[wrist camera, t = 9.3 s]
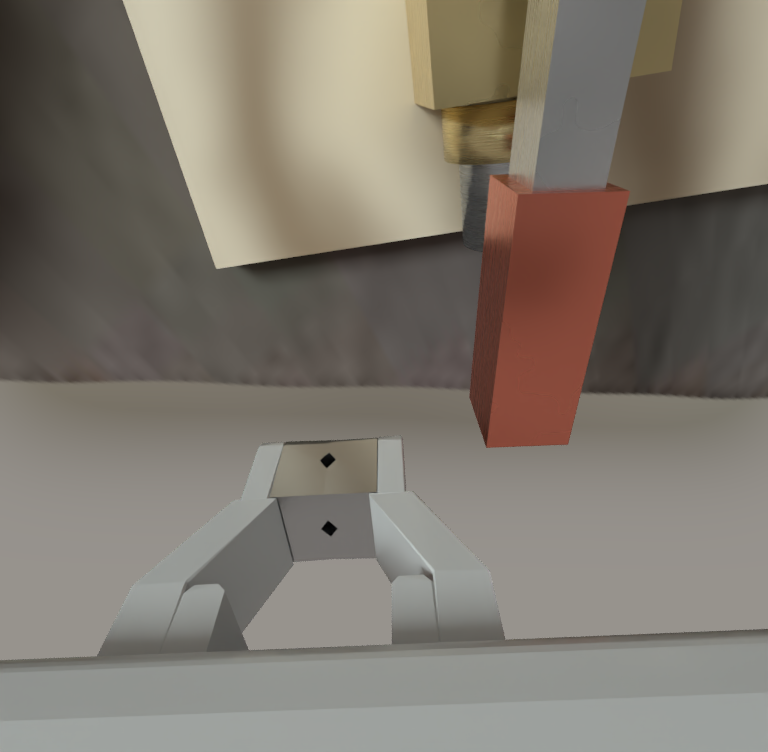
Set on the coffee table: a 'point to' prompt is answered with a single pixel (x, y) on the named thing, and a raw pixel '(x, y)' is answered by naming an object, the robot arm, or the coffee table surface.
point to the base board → (405, 120)
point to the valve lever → (552, 221)
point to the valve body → (494, 82)
